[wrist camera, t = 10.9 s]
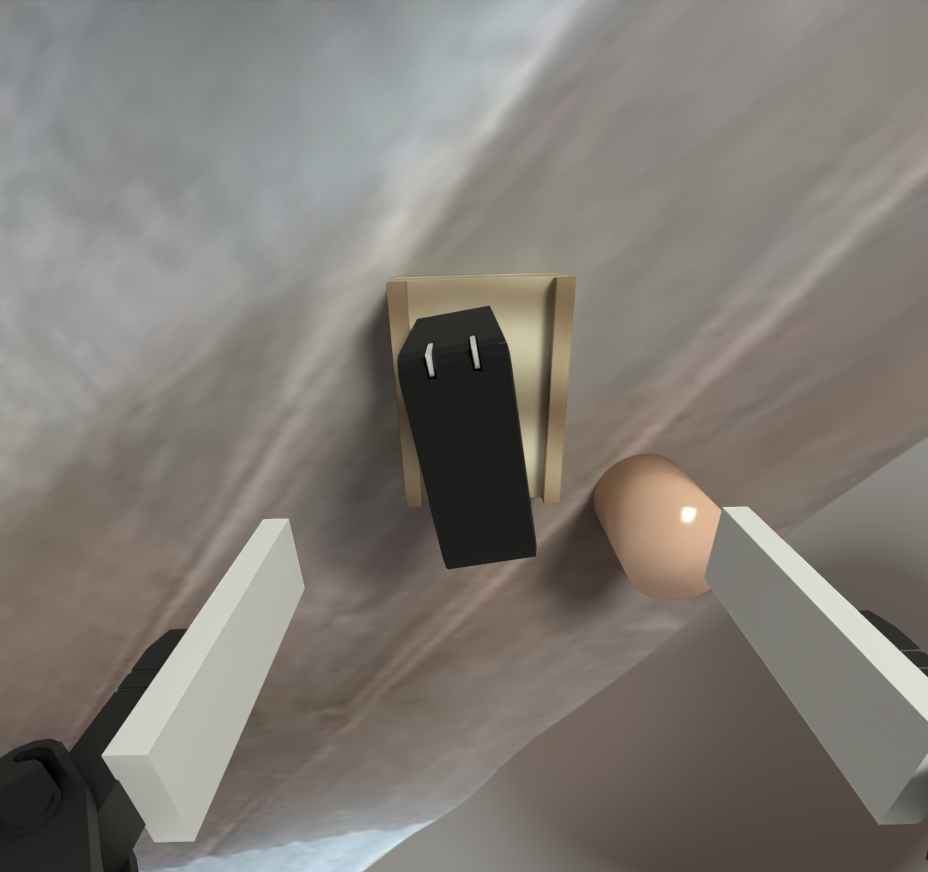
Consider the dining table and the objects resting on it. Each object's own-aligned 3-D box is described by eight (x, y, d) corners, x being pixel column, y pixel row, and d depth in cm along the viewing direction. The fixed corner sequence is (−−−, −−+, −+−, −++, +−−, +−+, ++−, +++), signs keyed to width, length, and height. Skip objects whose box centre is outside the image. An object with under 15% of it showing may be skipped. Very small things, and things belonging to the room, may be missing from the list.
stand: (395, 277, 27) (386, 282, 23) (560, 272, 27) (576, 277, 23) (412, 478, 32) (406, 507, 29) (548, 475, 32) (559, 503, 29)
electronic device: (450, 470, 29) (446, 578, 20) (416, 316, 25) (392, 362, 16) (513, 460, 28) (540, 565, 19) (490, 302, 24) (509, 340, 15)
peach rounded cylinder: (597, 455, 32) (632, 509, 25) (694, 452, 32) (753, 506, 25) (588, 534, 35) (618, 601, 28) (677, 532, 35) (727, 598, 28)
